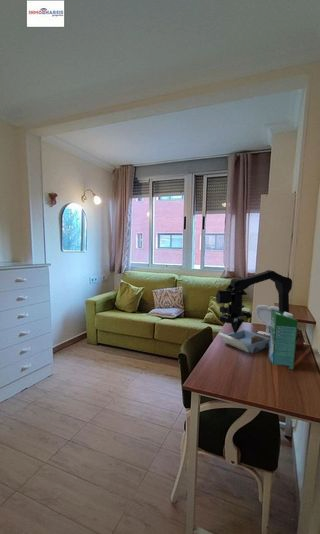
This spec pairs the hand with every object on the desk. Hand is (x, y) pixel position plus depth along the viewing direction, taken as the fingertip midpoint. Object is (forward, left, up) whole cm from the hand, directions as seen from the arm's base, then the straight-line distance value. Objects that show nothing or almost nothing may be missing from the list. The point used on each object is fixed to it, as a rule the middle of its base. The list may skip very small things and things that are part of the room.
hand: (235, 332), depth 129 cm
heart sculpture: (+5, -39, -10) cm, 41 cm away
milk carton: (-21, -7, -10) cm, 24 cm away
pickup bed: (0, -11, -10) cm, 15 cm away
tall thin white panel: (0, -2, -9) cm, 9 cm away
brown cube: (-4, -13, -9) cm, 16 cm away
